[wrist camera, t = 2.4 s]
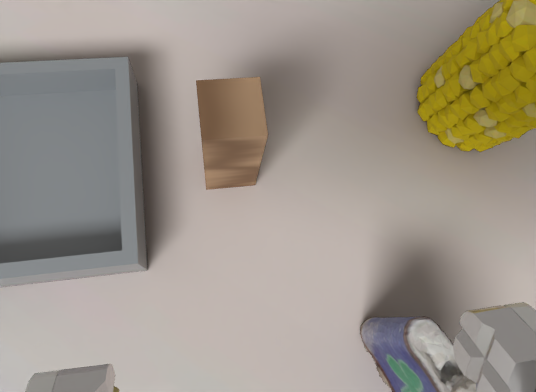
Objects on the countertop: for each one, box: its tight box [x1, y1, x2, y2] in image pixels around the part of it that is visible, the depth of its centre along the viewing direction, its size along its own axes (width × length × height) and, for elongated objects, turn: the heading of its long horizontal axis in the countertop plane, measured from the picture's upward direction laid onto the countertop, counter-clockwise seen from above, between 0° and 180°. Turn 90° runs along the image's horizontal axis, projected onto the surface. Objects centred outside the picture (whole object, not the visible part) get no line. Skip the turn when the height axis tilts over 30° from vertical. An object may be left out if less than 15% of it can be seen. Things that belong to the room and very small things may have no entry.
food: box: [417, 0, 536, 152], centre depth 33 cm, size 15×12×10 cm
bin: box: [0, 57, 147, 287], centre depth 32 cm, size 14×16×4 cm
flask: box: [360, 316, 476, 392], centre depth 28 cm, size 9×3×11 cm, turn 26°
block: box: [196, 77, 268, 190], centre depth 31 cm, size 4×4×10 cm
